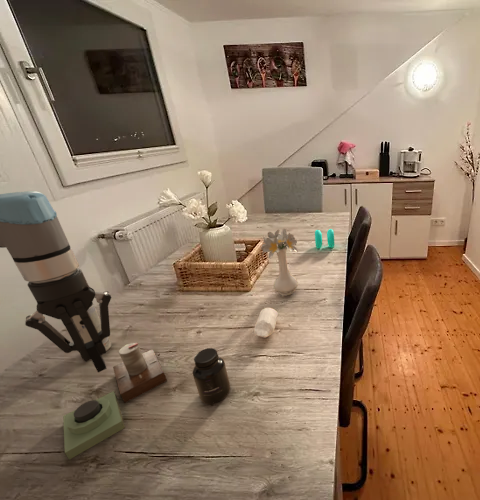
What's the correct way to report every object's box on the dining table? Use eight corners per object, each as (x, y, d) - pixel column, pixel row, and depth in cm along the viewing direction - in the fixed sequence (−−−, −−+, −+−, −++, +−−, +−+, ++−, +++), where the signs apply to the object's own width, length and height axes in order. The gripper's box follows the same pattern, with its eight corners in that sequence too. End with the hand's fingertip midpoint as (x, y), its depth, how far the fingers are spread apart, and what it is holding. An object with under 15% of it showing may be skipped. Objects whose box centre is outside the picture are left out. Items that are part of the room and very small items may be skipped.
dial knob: (130, 378, 70) (119, 355, 67) (127, 369, 72) (116, 347, 69) (148, 369, 72) (139, 347, 69) (145, 361, 75) (136, 339, 72)
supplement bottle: (211, 410, 64) (199, 371, 59) (194, 397, 68) (181, 359, 63) (237, 388, 70) (227, 351, 65) (220, 377, 73) (209, 341, 68)
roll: (252, 346, 83) (249, 331, 81) (261, 321, 94) (258, 307, 92) (273, 345, 83) (270, 330, 81) (279, 320, 94) (276, 306, 92)
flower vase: (300, 278, 121) (294, 222, 111) (304, 301, 104) (297, 238, 95) (269, 282, 118) (260, 226, 108) (268, 306, 102) (257, 243, 92)
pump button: (76, 414, 60) (72, 408, 60) (100, 402, 63) (97, 396, 62) (77, 426, 58) (74, 421, 57) (102, 413, 60) (99, 408, 60)
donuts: (316, 244, 156) (314, 227, 152) (333, 243, 157) (333, 226, 153) (316, 251, 147) (314, 233, 143) (334, 250, 148) (334, 232, 144)
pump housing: (67, 422, 62) (59, 410, 61) (117, 397, 68) (111, 385, 67) (69, 459, 55) (60, 447, 54) (125, 427, 61) (118, 415, 59)
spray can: (78, 355, 82) (46, 297, 74) (104, 340, 87) (77, 284, 80) (91, 361, 79) (60, 301, 71) (117, 345, 85) (91, 288, 77)
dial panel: (116, 375, 74) (112, 366, 73) (155, 356, 80) (152, 348, 79) (124, 403, 67) (120, 394, 65) (167, 380, 72) (163, 371, 71)
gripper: (95, 258, 60) (132, 344, 69) (4, 280, 52) (61, 375, 61) (100, 268, 55) (139, 359, 65) (1, 295, 47) (62, 395, 56)
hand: (101, 367), depth 63 cm, fingers closed
